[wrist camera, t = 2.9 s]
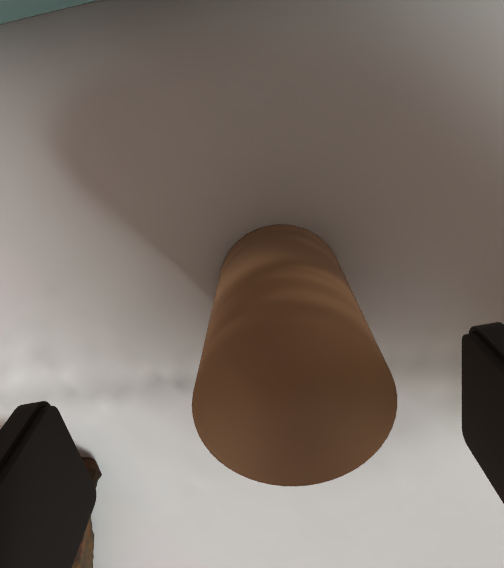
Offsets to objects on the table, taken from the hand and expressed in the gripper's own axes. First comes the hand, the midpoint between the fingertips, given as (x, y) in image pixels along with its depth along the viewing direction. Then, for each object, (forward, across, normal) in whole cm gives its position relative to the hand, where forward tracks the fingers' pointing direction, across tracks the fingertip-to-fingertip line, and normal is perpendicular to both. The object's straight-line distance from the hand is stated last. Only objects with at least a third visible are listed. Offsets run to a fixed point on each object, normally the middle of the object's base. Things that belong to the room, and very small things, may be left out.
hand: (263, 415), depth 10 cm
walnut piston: (+9, -1, +1) cm, 9 cm away
